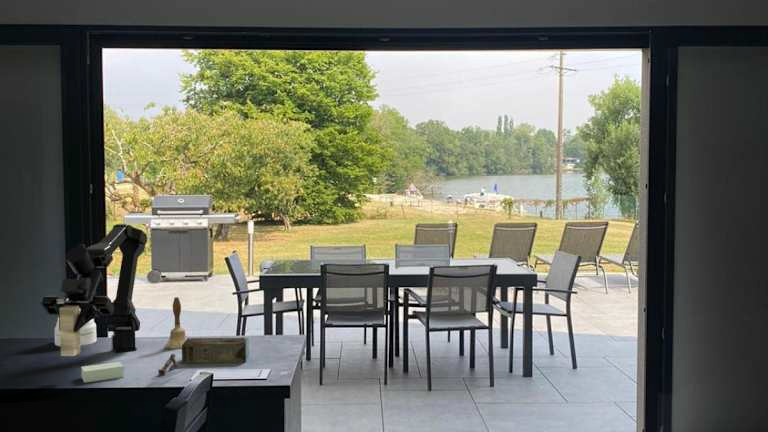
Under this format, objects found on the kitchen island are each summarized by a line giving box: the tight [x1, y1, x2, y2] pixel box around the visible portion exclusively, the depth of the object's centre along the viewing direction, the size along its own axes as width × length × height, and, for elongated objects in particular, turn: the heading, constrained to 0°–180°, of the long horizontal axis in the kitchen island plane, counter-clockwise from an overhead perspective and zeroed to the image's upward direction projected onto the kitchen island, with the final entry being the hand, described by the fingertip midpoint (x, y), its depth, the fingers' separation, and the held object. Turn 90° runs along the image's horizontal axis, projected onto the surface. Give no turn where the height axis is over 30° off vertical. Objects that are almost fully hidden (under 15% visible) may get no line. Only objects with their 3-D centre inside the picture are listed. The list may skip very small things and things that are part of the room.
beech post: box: [59, 306, 82, 357], centre depth 189 cm, size 4×4×13 cm
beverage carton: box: [181, 336, 250, 365], centre depth 209 cm, size 8×19×7 cm, turn 95°
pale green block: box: [80, 361, 125, 383], centre depth 192 cm, size 10×6×3 cm, turn 120°
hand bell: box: [164, 296, 187, 350], centre depth 227 cm, size 8×8×16 cm
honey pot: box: [54, 298, 98, 347], centre depth 234 cm, size 13×13×18 cm
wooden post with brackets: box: [157, 353, 178, 376], centre depth 198 cm, size 2×8×4 cm, turn 167°
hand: (67, 331), depth 188 cm, fingers closed on beech post, 4 cm apart
